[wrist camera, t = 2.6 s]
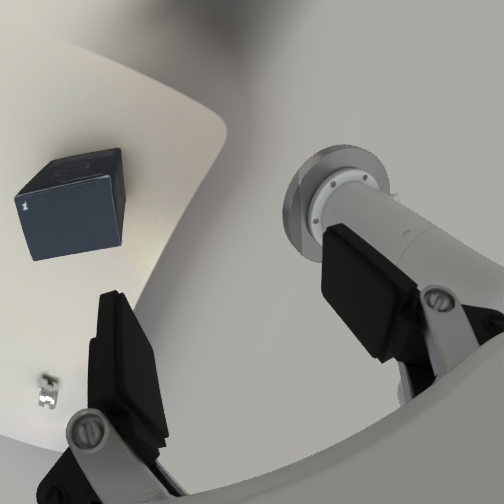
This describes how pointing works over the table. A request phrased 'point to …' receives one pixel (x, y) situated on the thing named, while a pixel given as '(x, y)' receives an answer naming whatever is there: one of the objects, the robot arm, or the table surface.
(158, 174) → the table surface
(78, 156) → the box
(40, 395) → the grooved metal pulley
